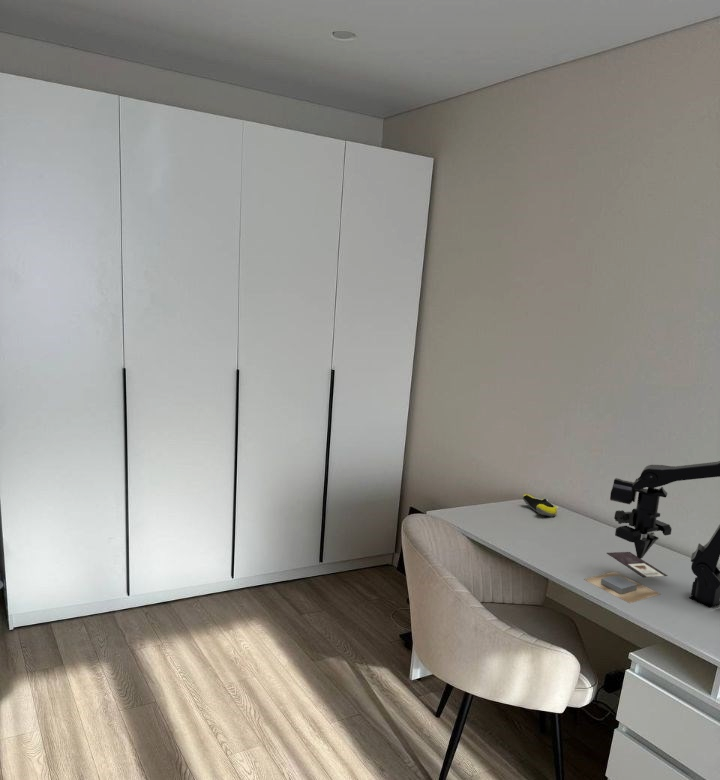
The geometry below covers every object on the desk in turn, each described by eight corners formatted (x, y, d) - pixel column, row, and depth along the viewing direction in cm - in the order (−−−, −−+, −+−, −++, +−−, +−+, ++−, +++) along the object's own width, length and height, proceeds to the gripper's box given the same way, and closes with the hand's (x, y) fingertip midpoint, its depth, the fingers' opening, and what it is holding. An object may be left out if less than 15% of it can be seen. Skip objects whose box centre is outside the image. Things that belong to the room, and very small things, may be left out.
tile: (637, 584, 189) (621, 588, 185) (636, 590, 189) (620, 594, 186) (617, 574, 195) (601, 578, 191) (616, 580, 195) (600, 584, 192)
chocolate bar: (629, 551, 218) (667, 575, 201) (629, 554, 219) (667, 578, 201) (606, 552, 216) (643, 576, 199) (606, 555, 216) (642, 579, 199)
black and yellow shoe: (537, 519, 246) (561, 519, 248) (539, 505, 245) (563, 505, 247) (519, 506, 260) (542, 506, 262) (521, 492, 259) (543, 492, 262)
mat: (660, 595, 188) (660, 594, 188) (629, 604, 181) (629, 603, 181) (614, 572, 202) (614, 571, 201) (583, 580, 194) (583, 579, 194)
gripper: (643, 496, 203) (636, 543, 205) (603, 502, 193) (596, 552, 196) (676, 507, 193) (668, 557, 196) (635, 515, 184) (628, 567, 186)
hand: (639, 557), depth 194 cm, fingers closed
